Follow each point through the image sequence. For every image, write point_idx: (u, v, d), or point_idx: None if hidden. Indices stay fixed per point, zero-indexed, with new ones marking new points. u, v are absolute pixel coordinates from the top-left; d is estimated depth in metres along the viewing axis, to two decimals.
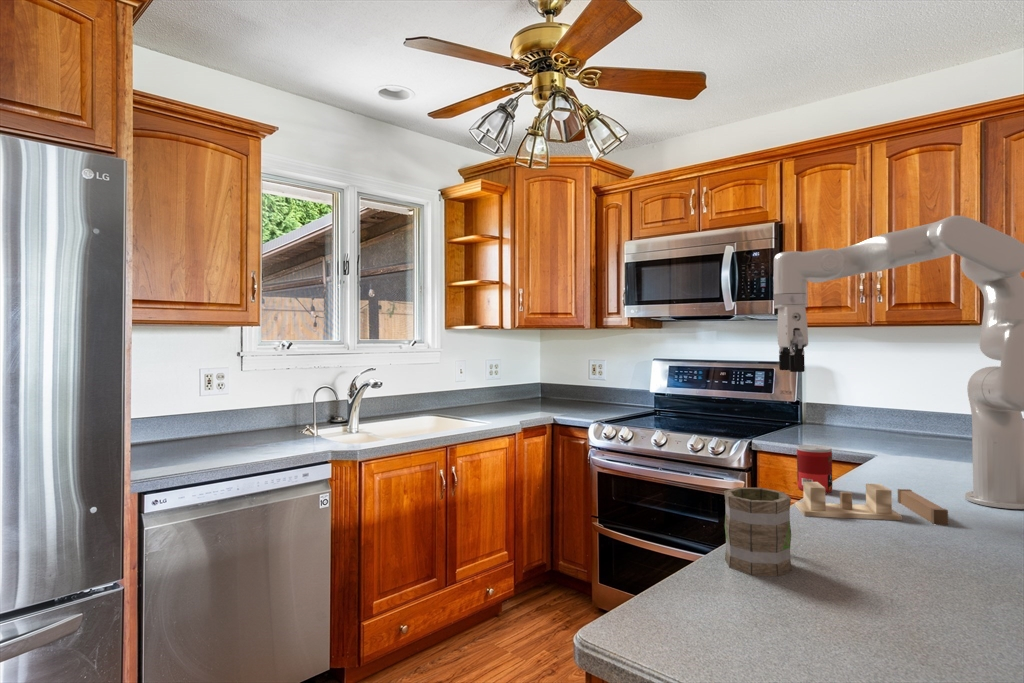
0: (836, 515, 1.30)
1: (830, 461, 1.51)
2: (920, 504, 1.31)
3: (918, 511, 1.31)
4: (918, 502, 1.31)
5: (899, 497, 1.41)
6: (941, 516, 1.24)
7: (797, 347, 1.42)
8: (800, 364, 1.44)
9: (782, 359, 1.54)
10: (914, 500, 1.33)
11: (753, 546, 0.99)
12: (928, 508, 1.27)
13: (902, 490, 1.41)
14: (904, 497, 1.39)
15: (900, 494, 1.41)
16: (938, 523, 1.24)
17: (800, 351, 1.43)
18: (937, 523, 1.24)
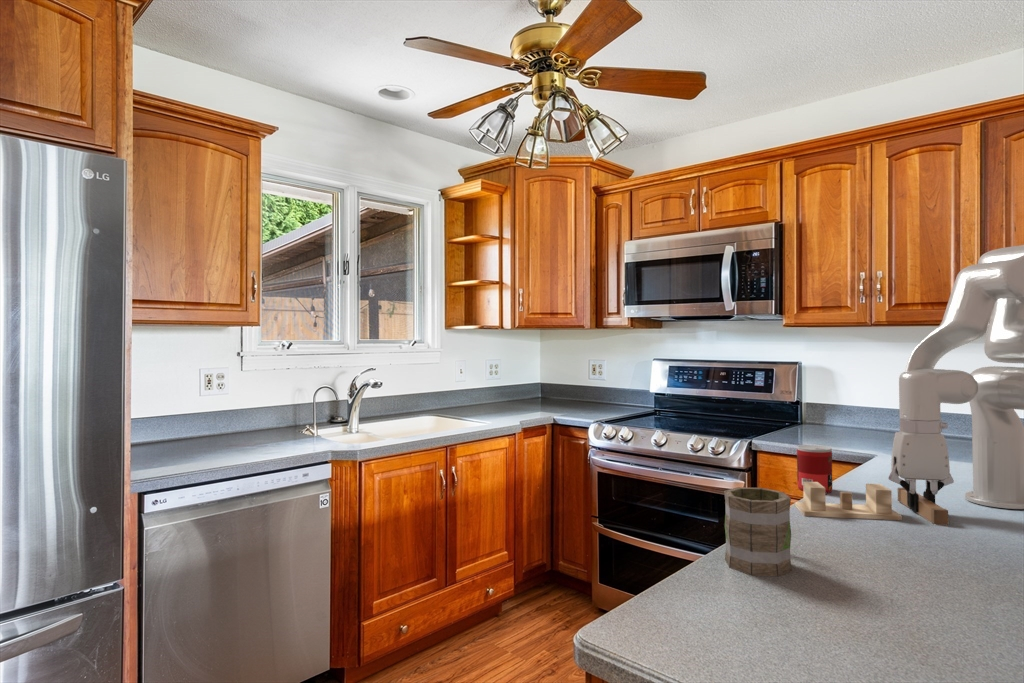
0: (836, 515, 1.30)
1: (830, 461, 1.51)
2: (920, 503, 1.31)
3: (919, 511, 1.31)
4: (918, 502, 1.31)
5: (899, 496, 1.41)
6: (941, 516, 1.24)
7: None
8: None
9: None
10: None
11: (753, 546, 0.99)
12: (928, 508, 1.27)
13: (902, 489, 1.41)
14: (904, 496, 1.39)
15: (900, 493, 1.41)
16: (938, 523, 1.24)
17: None
18: (937, 523, 1.24)
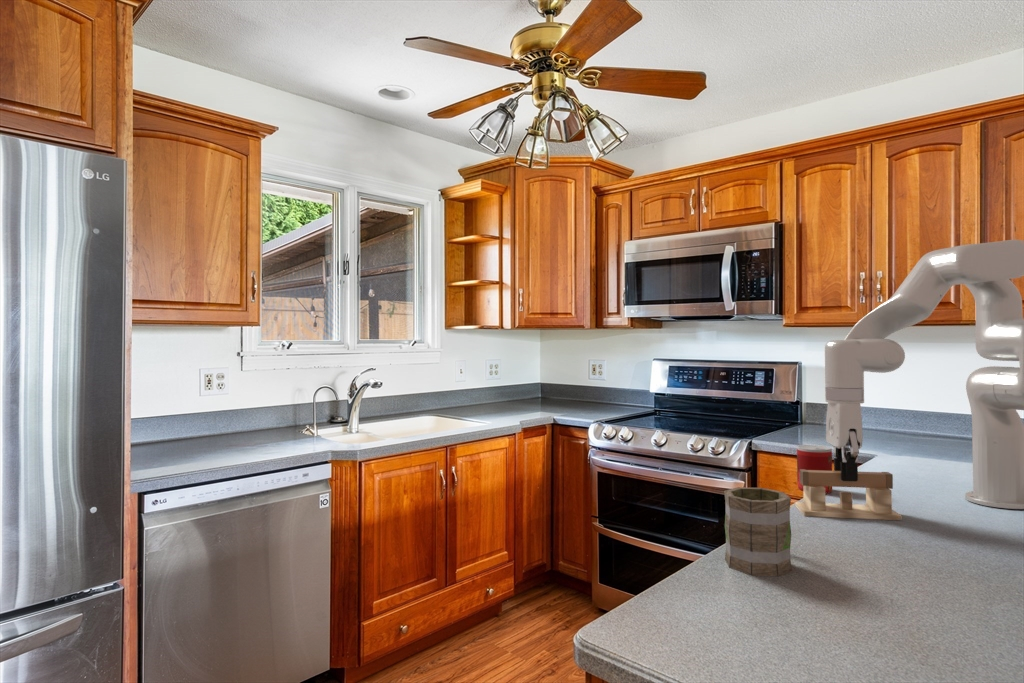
0: (836, 515, 1.30)
1: (830, 461, 1.51)
2: (860, 475, 1.32)
3: (856, 484, 1.32)
4: None
5: (807, 479, 1.34)
6: None
7: None
8: None
9: None
10: None
11: (753, 546, 0.99)
12: (879, 476, 1.31)
13: (807, 471, 1.34)
14: (819, 477, 1.33)
15: (809, 476, 1.34)
16: None
17: None
18: None
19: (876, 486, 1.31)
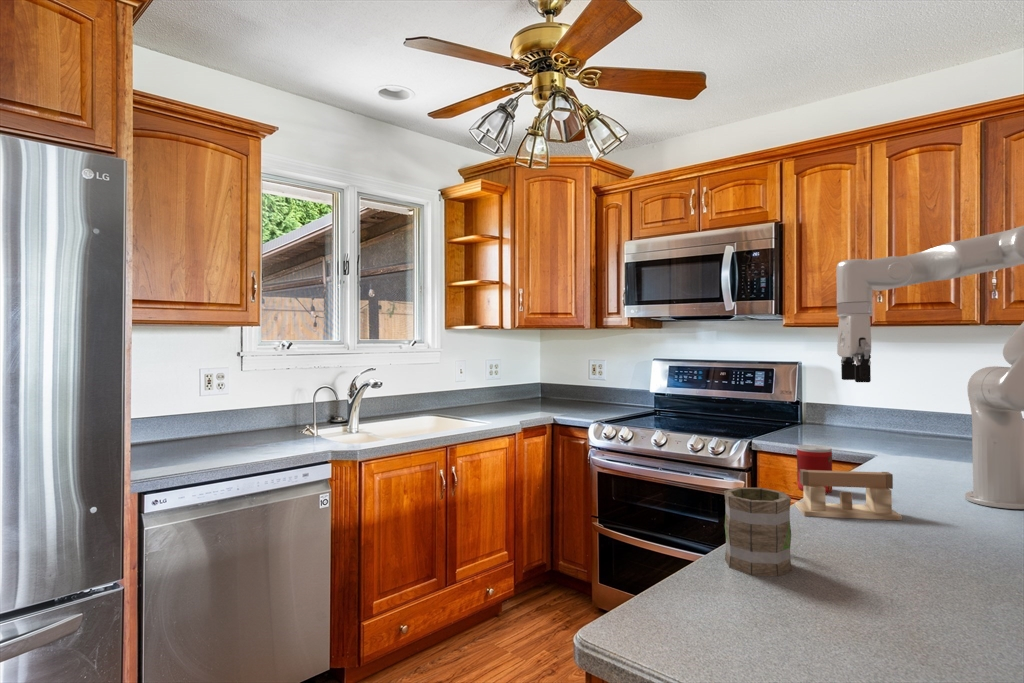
0: (836, 515, 1.30)
1: (830, 461, 1.51)
2: (860, 475, 1.32)
3: (856, 484, 1.32)
4: (855, 475, 1.32)
5: (807, 479, 1.34)
6: None
7: None
8: None
9: None
10: (845, 475, 1.32)
11: (753, 546, 0.99)
12: (879, 476, 1.31)
13: (807, 471, 1.34)
14: (819, 477, 1.33)
15: (809, 476, 1.34)
16: None
17: None
18: None
19: (876, 486, 1.31)
